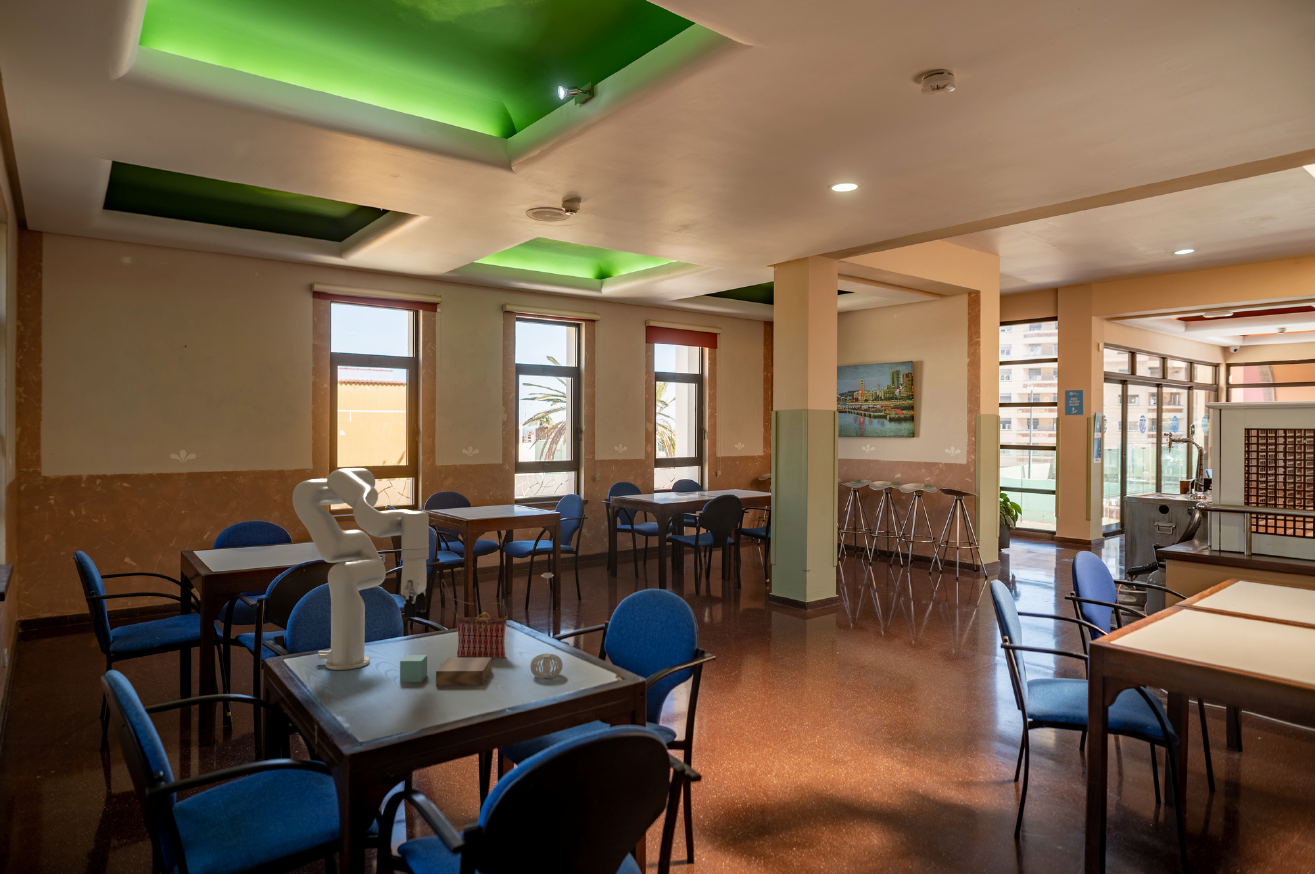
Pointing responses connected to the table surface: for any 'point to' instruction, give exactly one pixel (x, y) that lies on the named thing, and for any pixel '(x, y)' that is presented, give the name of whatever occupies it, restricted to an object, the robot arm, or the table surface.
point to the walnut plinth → (463, 671)
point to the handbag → (480, 635)
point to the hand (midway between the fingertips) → (415, 613)
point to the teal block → (413, 668)
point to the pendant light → (546, 658)
